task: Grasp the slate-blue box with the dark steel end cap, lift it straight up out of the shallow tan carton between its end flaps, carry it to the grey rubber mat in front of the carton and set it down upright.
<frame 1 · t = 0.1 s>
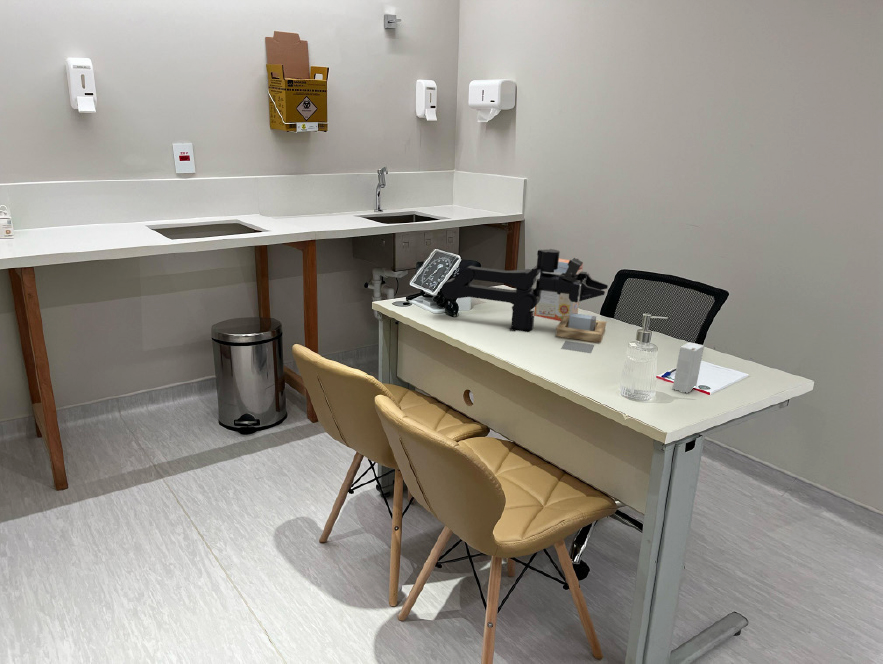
hand: (606, 289, 214), 17 cm above the table, tool horizontal, fingers open, 9 cm apart
skincare box: (684, 390, 182), on the table
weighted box: (580, 334, 224), resting on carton
rubber mat: (577, 347, 211), on the table
cracker box: (555, 319, 242), on the table
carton: (580, 335, 224), on the table
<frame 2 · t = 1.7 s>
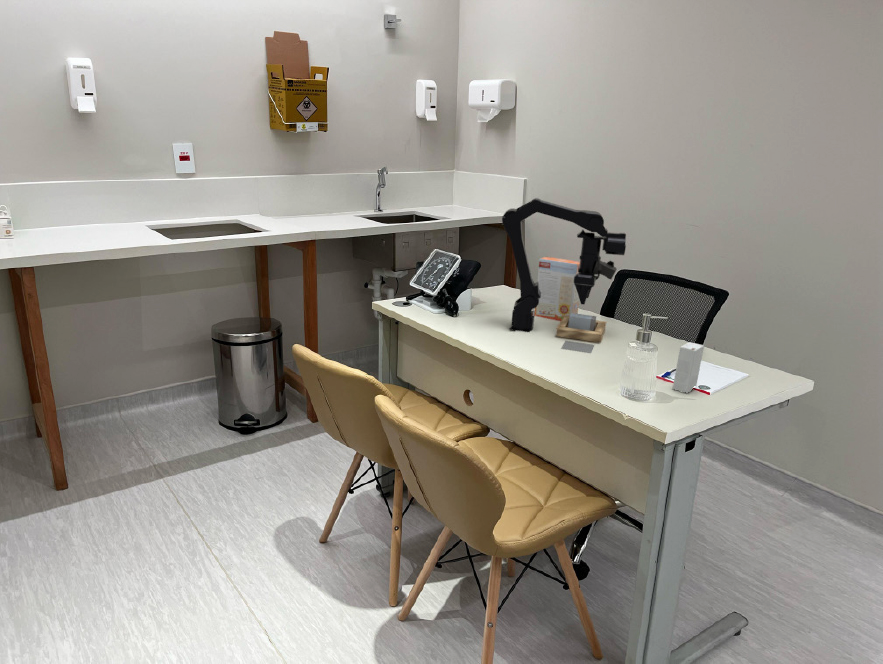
hand: (584, 301, 220), 11 cm above the table, tool pointing down, fingers open, 9 cm apart
nothing on the table moved.
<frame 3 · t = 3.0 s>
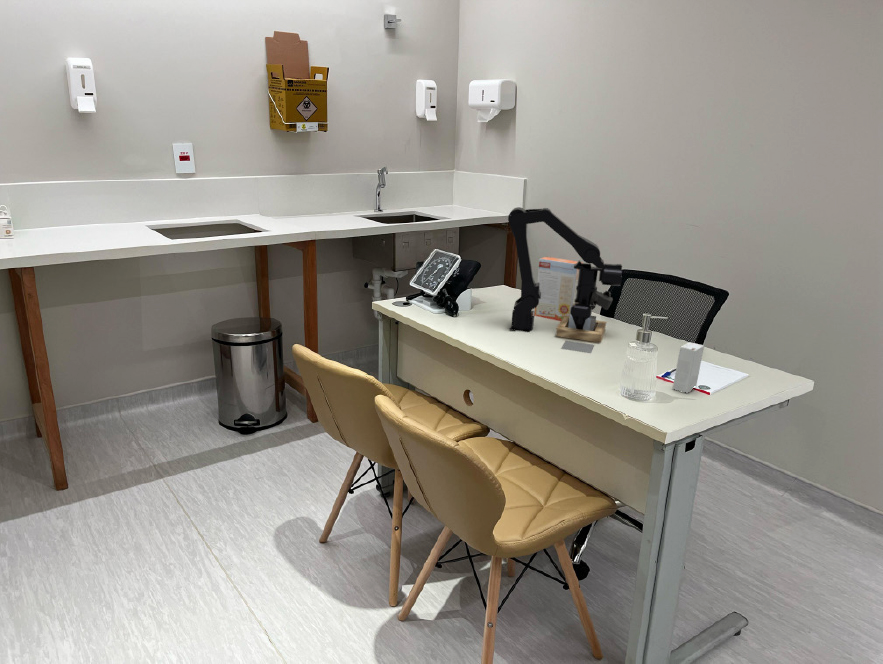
hand: (581, 330, 223), 2 cm above the table, tool pointing down, fingers open, 8 cm apart
nothing on the table moved.
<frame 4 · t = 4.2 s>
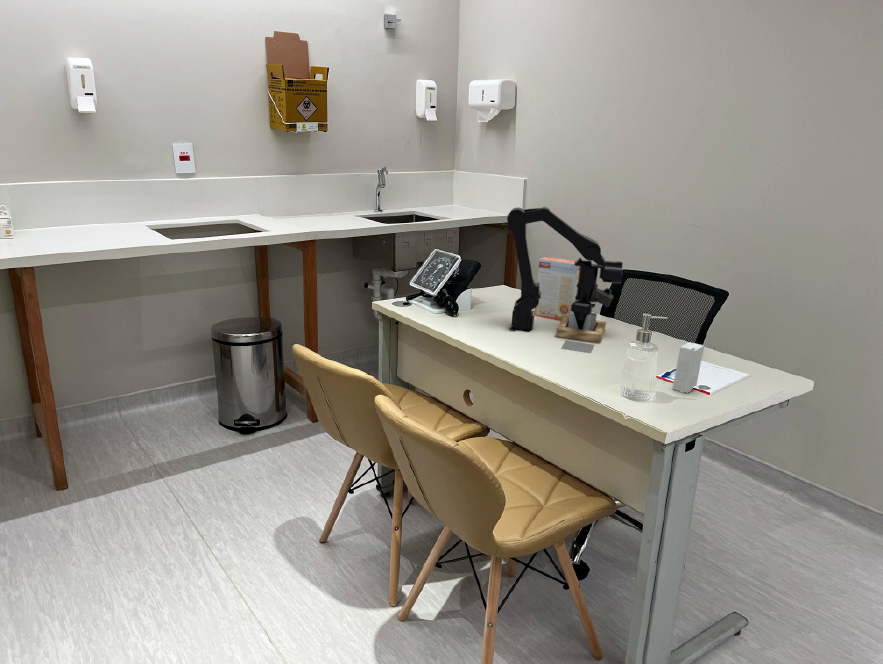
hand: (581, 327, 223), 3 cm above the table, tool pointing down, fingers closed on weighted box, 4 cm apart
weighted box: (581, 331, 223), point 1 cm above the table, touching gripper
everything else where it was.
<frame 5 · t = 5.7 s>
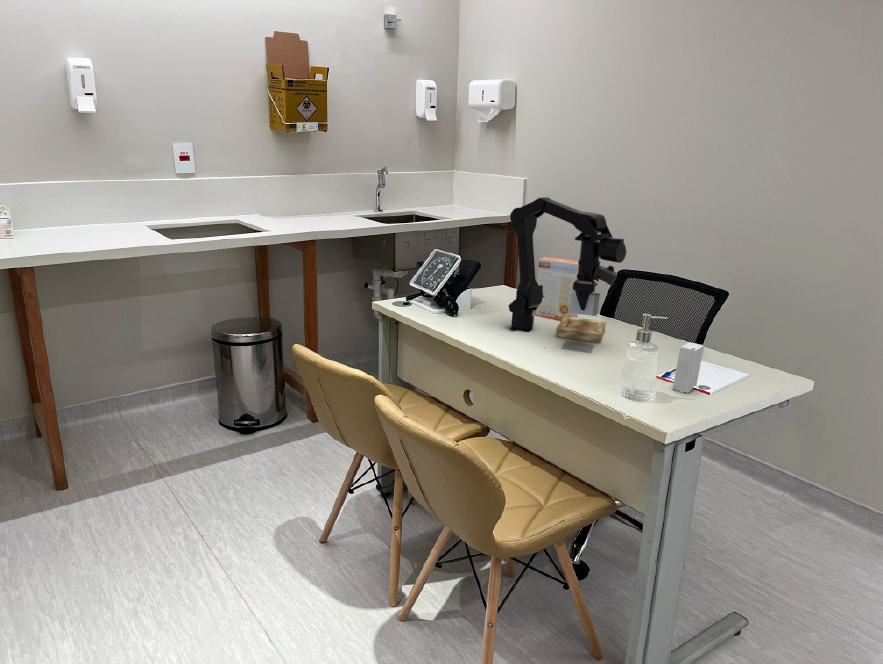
hand: (583, 308, 209), 12 cm above the table, tool pointing down, fingers closed on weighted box, 4 cm apart
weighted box: (583, 312, 209), point 11 cm above the table, touching gripper
everything else where it was.
when the fingers open (3 cm above the table, at t = 7.9 s): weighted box stays where it is, resting on rubber mat.
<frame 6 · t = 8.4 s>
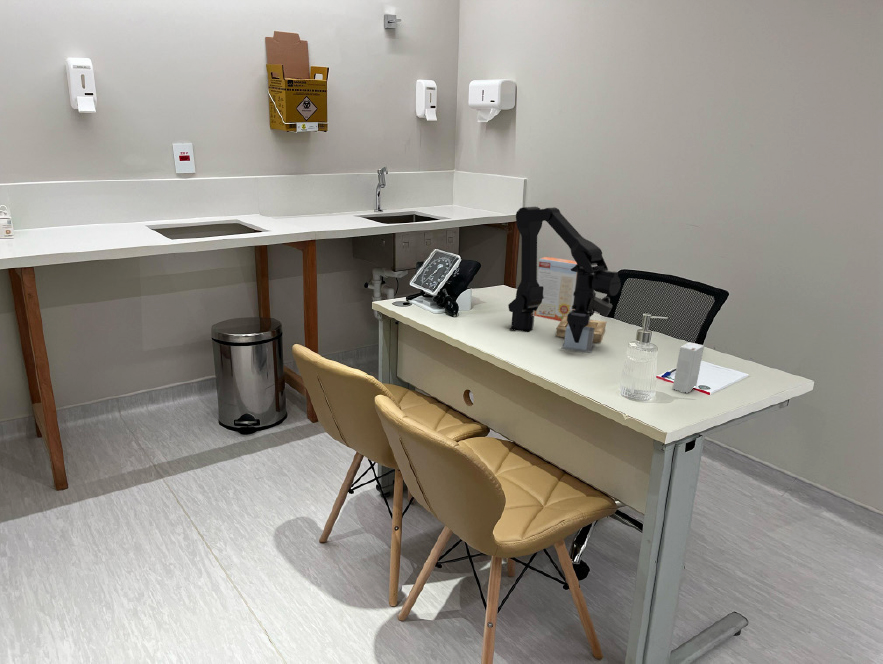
hand: (578, 338, 210), 3 cm above the table, tool pointing down, fingers open, 9 cm apart
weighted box: (578, 346, 211), resting on rubber mat
everything else where it was.
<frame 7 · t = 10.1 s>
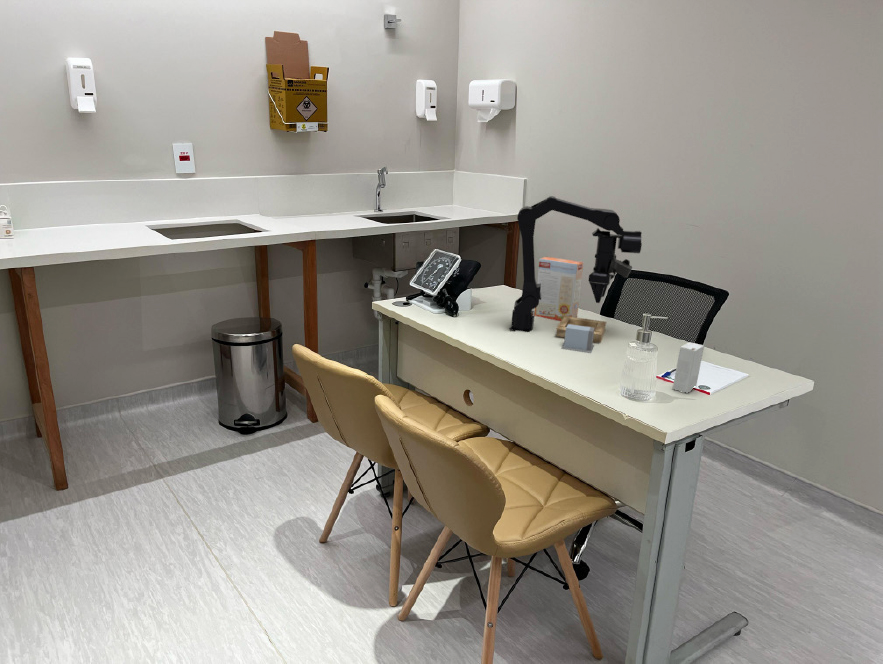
hand: (600, 299, 220), 12 cm above the table, tool pointing down, fingers open, 9 cm apart
nothing on the table moved.
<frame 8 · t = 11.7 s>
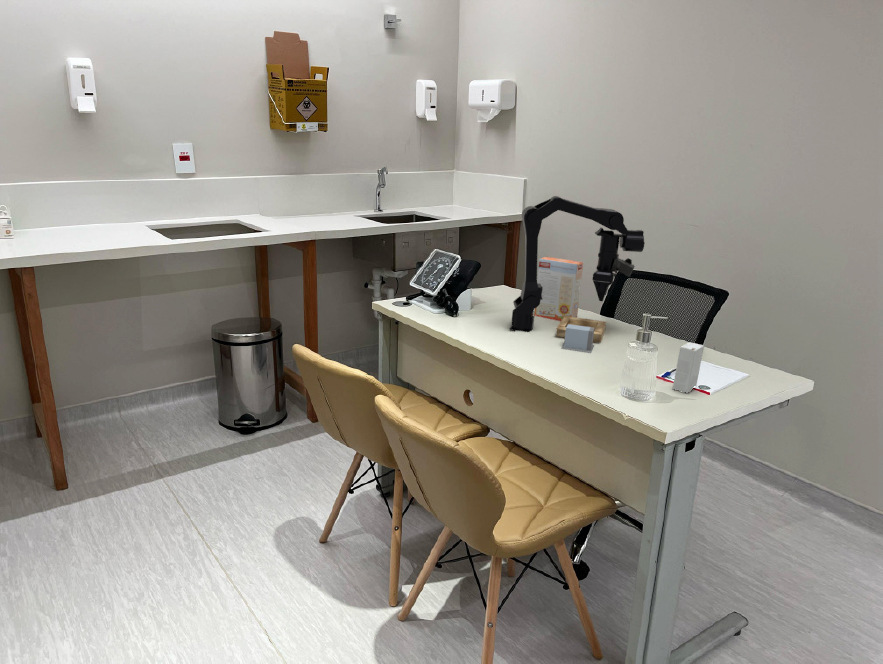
hand: (602, 298, 223), 12 cm above the table, tool pointing down, fingers open, 9 cm apart
nothing on the table moved.
at the end: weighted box inside the target area on the rubber mat (0.1 cm from its centre), point 0.4 cm above the rubber mat's base; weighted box tilted 0°; the gripper is holding nothing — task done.
